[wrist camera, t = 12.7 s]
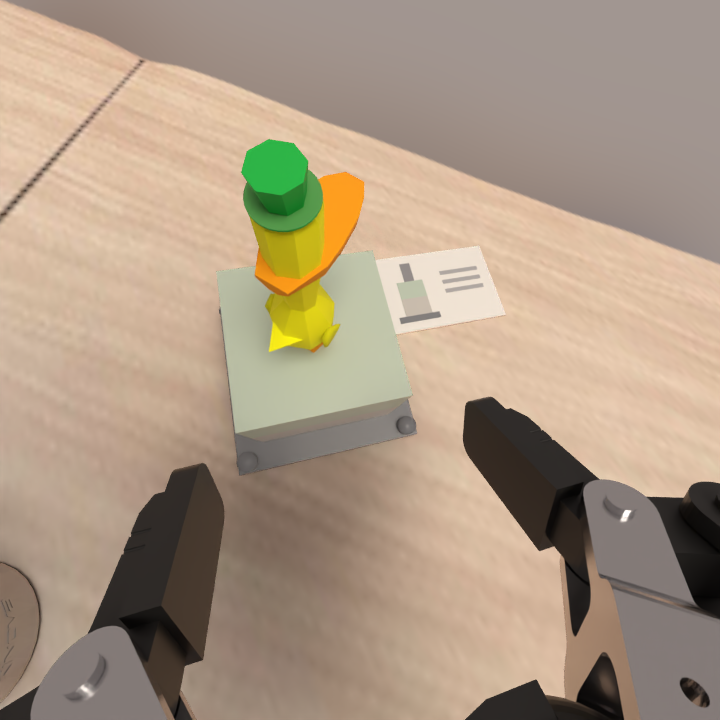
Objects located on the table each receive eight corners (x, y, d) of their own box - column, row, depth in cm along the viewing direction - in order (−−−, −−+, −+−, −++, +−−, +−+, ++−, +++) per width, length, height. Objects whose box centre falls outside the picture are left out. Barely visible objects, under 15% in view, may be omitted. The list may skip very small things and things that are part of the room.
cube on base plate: (242, 474, 25) (198, 481, 16) (223, 312, 29) (179, 248, 20) (414, 434, 27) (455, 421, 18) (374, 288, 31) (393, 222, 22)
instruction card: (387, 336, 29) (388, 335, 29) (367, 262, 32) (367, 260, 31) (504, 315, 31) (506, 314, 31) (478, 246, 34) (479, 245, 33)
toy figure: (320, 276, 20) (312, 41, 9) (368, 304, 20) (423, 98, 9) (256, 361, 18) (141, 195, 7) (309, 394, 18) (279, 276, 7)
